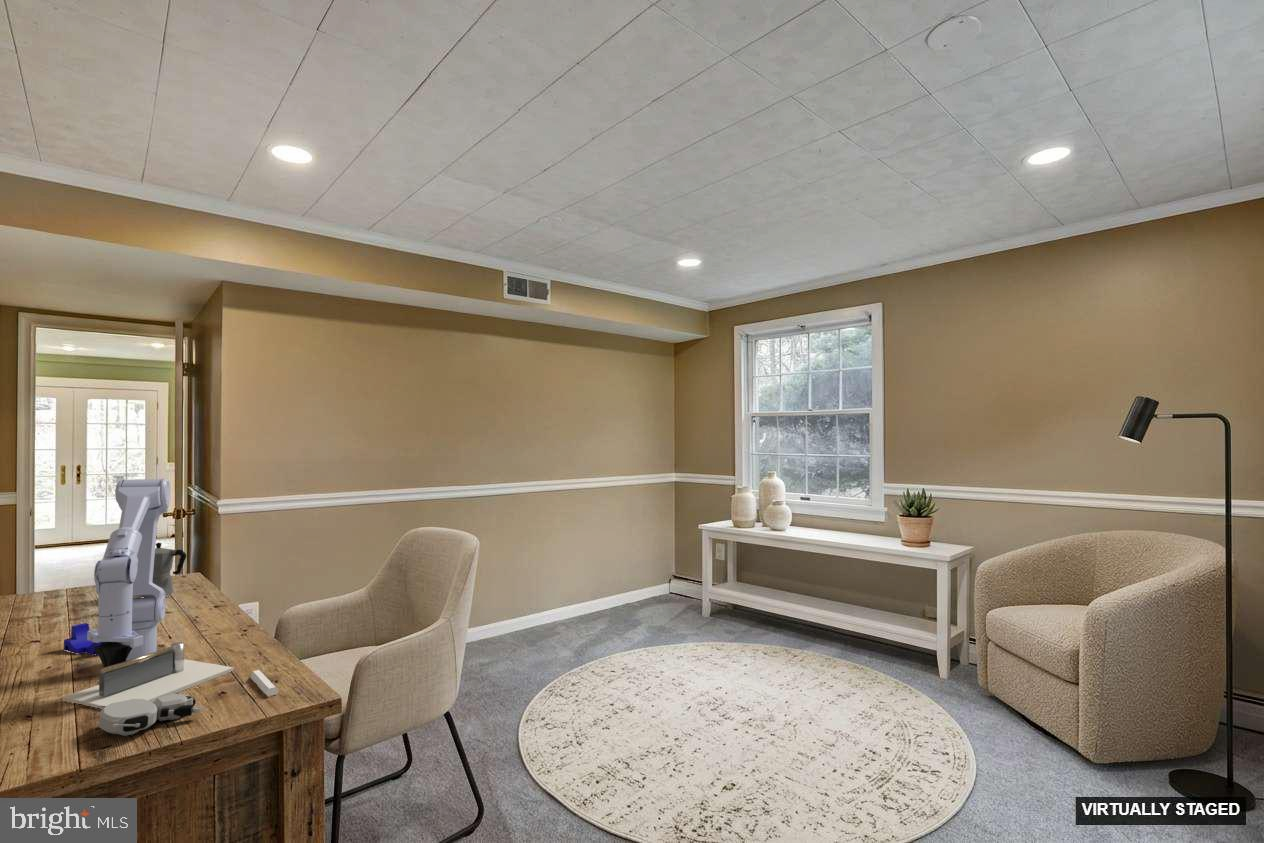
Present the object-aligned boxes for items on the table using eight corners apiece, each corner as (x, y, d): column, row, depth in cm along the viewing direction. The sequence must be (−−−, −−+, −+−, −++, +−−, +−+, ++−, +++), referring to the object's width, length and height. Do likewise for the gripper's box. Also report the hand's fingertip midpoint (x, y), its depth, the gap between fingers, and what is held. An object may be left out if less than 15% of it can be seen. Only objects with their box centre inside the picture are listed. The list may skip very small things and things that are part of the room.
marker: (253, 679, 145) (273, 700, 134) (244, 676, 144) (264, 697, 133) (260, 667, 146) (280, 687, 135) (251, 665, 145) (271, 684, 134)
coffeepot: (126, 600, 208) (127, 545, 208) (146, 593, 217) (147, 540, 217) (176, 599, 209) (177, 545, 209) (193, 592, 218) (194, 540, 219)
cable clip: (63, 651, 160) (64, 627, 160) (84, 646, 164) (85, 623, 165) (91, 658, 156) (91, 634, 156) (112, 653, 160) (112, 629, 160)
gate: (99, 695, 131) (99, 668, 131) (167, 671, 144) (168, 646, 144) (104, 696, 130) (104, 669, 130) (172, 672, 143) (173, 647, 144)
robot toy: (183, 707, 131) (90, 727, 119) (186, 684, 131) (92, 702, 119) (204, 724, 123) (106, 748, 111) (207, 700, 123) (109, 722, 112)
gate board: (62, 701, 131) (62, 697, 131) (178, 661, 153) (178, 658, 153) (122, 714, 125) (122, 709, 125) (233, 670, 148) (233, 667, 148)
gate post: (168, 675, 144) (168, 644, 145) (178, 672, 147) (179, 641, 147) (175, 677, 144) (176, 646, 144) (186, 673, 146) (186, 642, 146)
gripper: (71, 614, 135) (70, 679, 135) (118, 621, 130) (116, 688, 130) (108, 606, 141) (106, 667, 141) (153, 612, 137) (152, 675, 136)
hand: (114, 676), depth 136 cm, fingers closed
